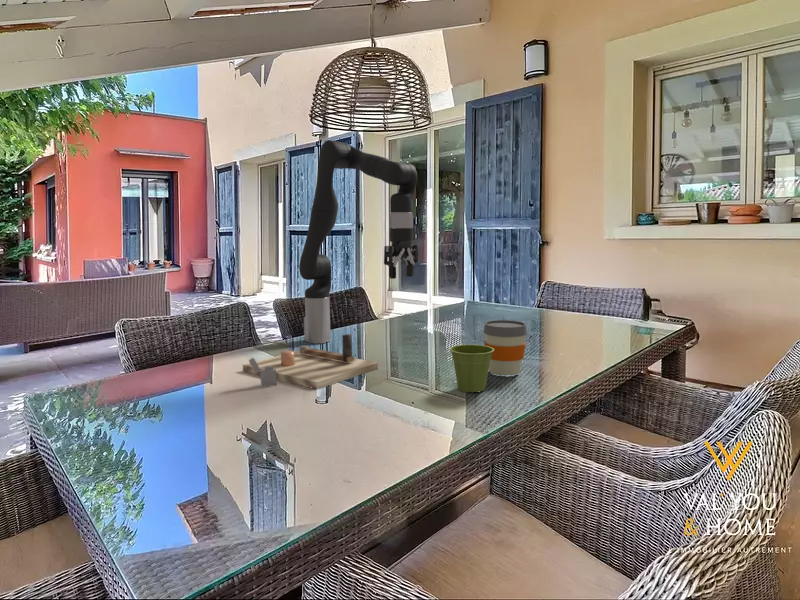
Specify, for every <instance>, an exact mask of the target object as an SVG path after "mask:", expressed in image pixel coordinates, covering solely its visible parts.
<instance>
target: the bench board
mask: <svg viewBox="0 0 800 600" xmlns="http://www.w3.org/2000/svg"><path fill="white" fill-rule="evenodd" d="M255 361H256V360H255ZM294 361H295V365H293V366H281V354H279V355H277V356H273V357H269V358H265V359H261V360H257V361H256V363H257V365H258V366H259V368H260V370H265V366H271V367H273V369H276V380H277V379H278V381H281V380H282V381H281V382H285V383H290V384H293V385H296V386H301V385H303V386H302V387H305V386H307V387H306V388H309V387H312V388H311V389H313V388H320V389H322V388H321V387H323V388H326V387H329V386H331V385H332V386H333V385H334V384H337V383H340V382H343V381H346V380H348V379H353V378H356V377H357V376H361V375H364V374H367V373H369V372H372V371H375V370H378V367H379V365H378V362H376V361H371V360H367V359H366V360H365V359H361V358H356V357H354V361H352V362H343V361H339V360H334V359H329V358H323V357H318V356H313V355H308V354H301V353H300V350H296V351H294ZM242 372H245V373H248V374H253V375H258V376H260V377H261V371H260V372H259V373H257V374H256V372H255V371H254V369H253V367H252V366H251V364H250V362H249V363H245V364H242ZM328 385H329V386H328ZM325 386H326V387H325Z"/></svg>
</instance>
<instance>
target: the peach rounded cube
mask: <svg viewBox="0 0 800 600" xmlns="http://www.w3.org/2000/svg"><path fill="white" fill-rule="evenodd" d="M294 352H295V351H294V350H282V351H281V352H280V355H281V366H293V365H295V361H294Z"/></svg>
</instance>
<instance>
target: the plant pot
mask: <svg viewBox="0 0 800 600" xmlns="http://www.w3.org/2000/svg"><path fill="white" fill-rule="evenodd" d="M449 351H450V352H451V356H452V360H453V365H454V373H455V379H456V384H457V385H456V386H457V389H459V390H458V391H460V392H462V391H463V393H465V392H468V393H473V392H478V391H482V390H484V389H485V390H486V386H487V380H488V374H489V364H490V360H491V356H492V352H494V348H492V347H489V346H485V345H482V344H457V345H453V346H450V347H449ZM485 390H484V391H485Z"/></svg>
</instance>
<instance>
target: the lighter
mask: <svg viewBox="0 0 800 600" xmlns="http://www.w3.org/2000/svg"><path fill="white" fill-rule="evenodd" d="M248 362H249V363H250V364H251V366H252V367H253V369H254V371H255V372H256V374H257V373H259V372H260V371H261V376H260V387H270V386H269V385H274V386H277V384H278V383H277V379H276V369H273V367H271V366H265V370H260V368H259V366H258V365H257V363H256V359H255V358H254V357H252V358H249V359H248ZM256 374H255V375H256Z"/></svg>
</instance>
